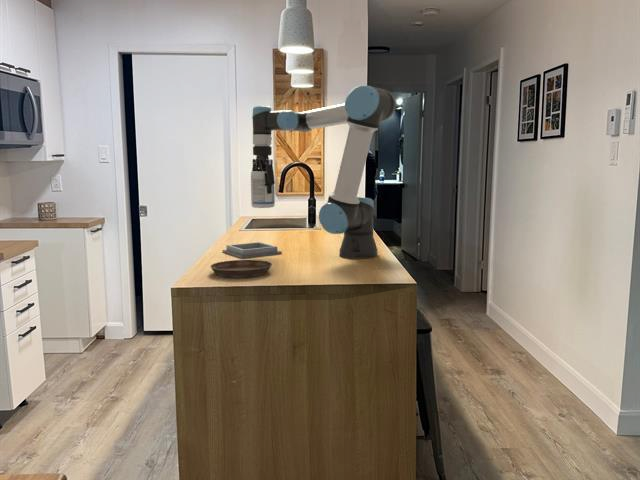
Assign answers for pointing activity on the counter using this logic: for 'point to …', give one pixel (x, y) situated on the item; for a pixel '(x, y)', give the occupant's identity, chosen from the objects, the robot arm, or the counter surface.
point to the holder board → (251, 250)
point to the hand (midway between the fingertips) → (262, 200)
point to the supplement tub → (260, 191)
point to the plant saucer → (241, 268)
